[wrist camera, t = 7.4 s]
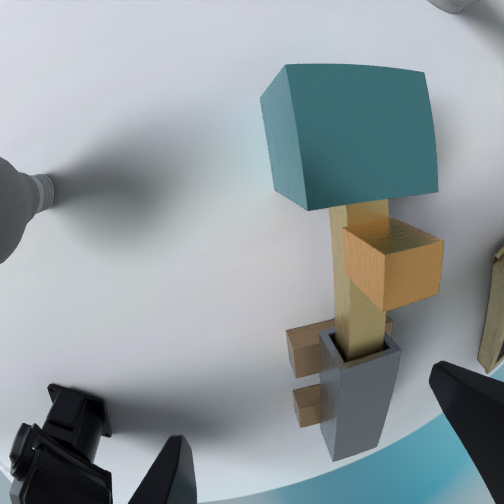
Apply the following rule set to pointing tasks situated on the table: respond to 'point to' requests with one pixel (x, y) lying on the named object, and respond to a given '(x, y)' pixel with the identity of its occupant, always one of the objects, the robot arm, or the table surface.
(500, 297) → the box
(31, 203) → the light bulb
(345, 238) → the yellow sliding bolt
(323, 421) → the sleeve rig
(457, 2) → the glass holder
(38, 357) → the table surface
